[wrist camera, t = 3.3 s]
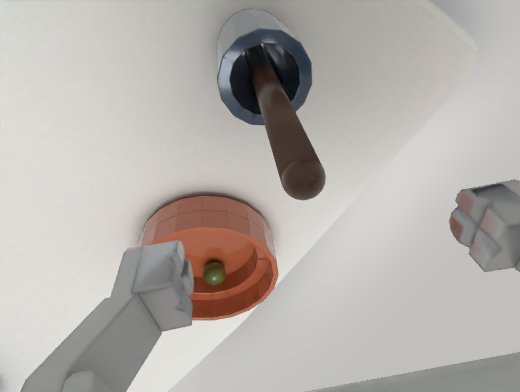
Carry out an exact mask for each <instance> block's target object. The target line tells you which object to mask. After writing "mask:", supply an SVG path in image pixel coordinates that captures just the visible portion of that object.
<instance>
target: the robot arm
mask: <svg viewBox="0 0 520 392" xmlns="http://www.w3.org/2000/svg"><path fill="white" fill-rule="evenodd" d="M455 201H456V203H457V204H458V207H457V208H456V209H455V210H454V211H453V212H452V213H451V217H450V228H451V231H452V233H453V235H454V237H455V238H456V239H457V241H458V242H459V243H461V244H463V245H465V246H467V247H469V255H470V256H471V257H472V258H473V259H474V261H475V262H476V263H477V264H478V265H479V266H480V267H481V269H482V270H483V271H484V272H488V271H494V270H501V269H507V268H514V267H515V269H516V270H517V271H519V272H520V181H518V180H510V181H505V182H500V183H496V184H490V185H485V186H479V187H474V188H469V189H463V190H461V191H460V192H459V193H458V194H457V197H456V200H455ZM184 254H185V248H184V246H183V244H182V242H181V241H179V240H178V241H172V242H165V243H159V244H152V245H146V246H142V247H135V248H129V249H127V250H126V251H125V252H124V254H123V257H122V260H121V264H120V267H119V270H118V274H117V277H116V280H115V283H114V287H113V290H112V293H111V296H110V298H105V299H104V300H103V301H102V302H101V303H100V304H99V305H98V306H97V307H96V308H95V309H94V310H93V311H92V312H91V313H90V314H89V315H88V316H87V317H86V318H85V319H84V320H83V322H82V323H81V324H80V325H79V326H78V327H77V328H76V329H75V330H74V331H73V332H72V333H71V334H70V335H69V336H68V337H67V338H66V339H65V340H64V341H63V342H62V343H61V344H60V345H59V346H58V347H57V348H56V349H55V350H54V351H53V352H52V353H51V354H50V355H49V357H48V358H47V359H46V360H45V361H44V362H43V363H42V364H41V365H40V366H39V367H38V368H37V369H36V370H35V371H34V372H33V373H32V374H31V375H30V376H29V377H28V378H27V379H26V380H25V383H24V385H23V387H22V389H21V392H126V391H127V389H128V387H129V386H130V384H131V382H132V381H133V379H134V378H135V376H136V374H137V373H138V371H139V370H140V368H141V366H142V365H143V363H144V361H145V360H146V358H147V357H148V355H149V353H150V352H151V350H152V349H153V347H154V345H155V344H156V342H157V340H158V339H159V337H160V336H161V334H162V333H161V332H162V331H167V330H172V329H177V328H181V327H186V326H191V325H192V310H193V303H192V301H191V299H190V297H189V296H190V295H191V294H192V292H193V291H194V276H193V270H192V266H191V263H190V260H189V259H187V258H186V257H184ZM307 392H520V352H518V353H512V354H507V355H501V356H496V357H491V358H485V359H480V360H474V361H469V362H463V363H458V364H453V365H447V366H442V367H437V368H431V369H426V370H421V371H415V372H409V373H404V374H398V375H393V376H388V377H382V378H377V379H371V380H366V381H361V382H355V383H350V384H345V385H339V386H334V387H329V388H323V389H318V390H312V391H307Z"/></svg>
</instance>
